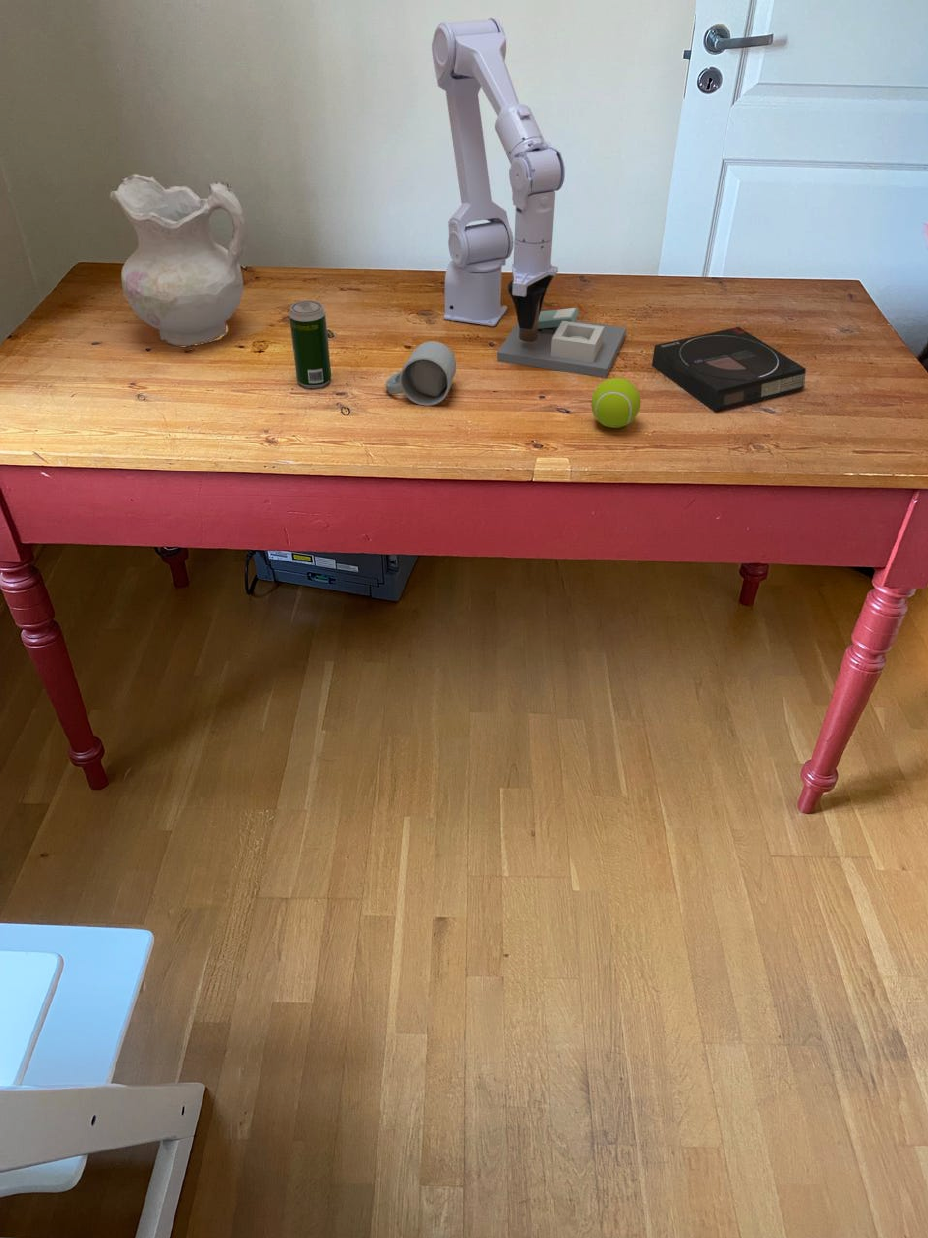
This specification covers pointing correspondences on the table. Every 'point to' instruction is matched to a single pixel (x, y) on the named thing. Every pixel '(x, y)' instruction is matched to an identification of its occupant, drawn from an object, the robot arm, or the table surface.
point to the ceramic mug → (425, 374)
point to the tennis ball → (615, 402)
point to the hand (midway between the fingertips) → (528, 322)
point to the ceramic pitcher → (181, 259)
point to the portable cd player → (728, 368)
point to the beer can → (310, 344)
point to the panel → (566, 348)
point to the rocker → (556, 317)
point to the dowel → (530, 330)
